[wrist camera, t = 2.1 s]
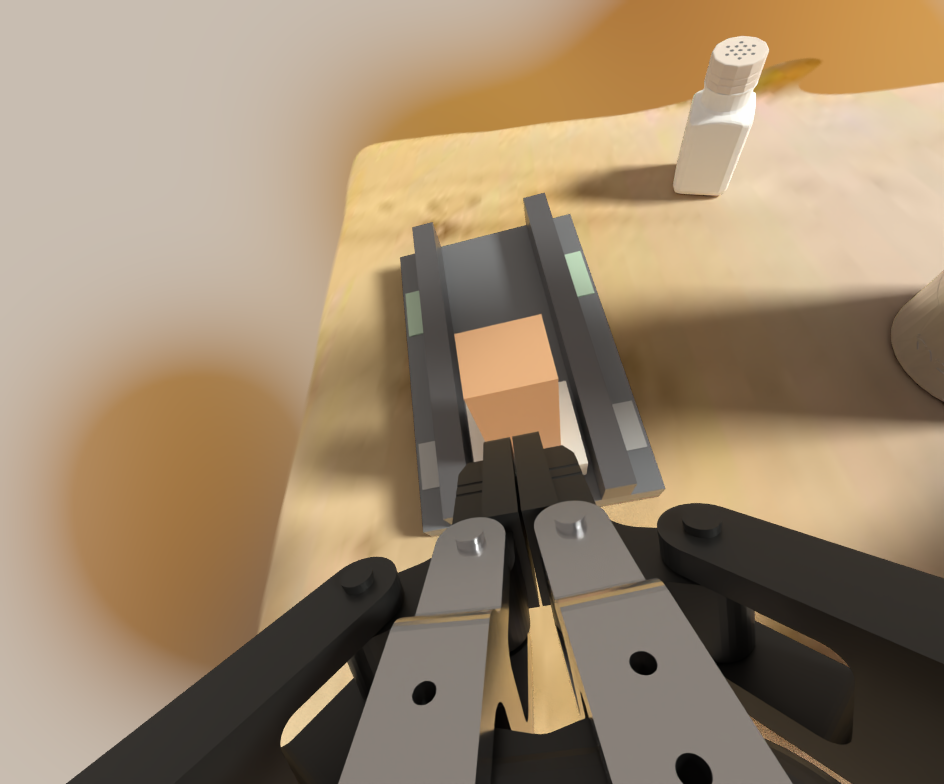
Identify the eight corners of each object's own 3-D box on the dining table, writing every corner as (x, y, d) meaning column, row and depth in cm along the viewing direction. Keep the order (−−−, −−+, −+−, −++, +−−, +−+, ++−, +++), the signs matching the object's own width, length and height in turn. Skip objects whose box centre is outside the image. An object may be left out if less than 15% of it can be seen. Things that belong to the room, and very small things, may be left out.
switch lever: (586, 474, 25) (598, 396, 15) (484, 493, 26) (435, 429, 16) (565, 397, 27) (565, 287, 18) (472, 416, 28) (424, 321, 18)
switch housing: (658, 496, 26) (675, 476, 22) (432, 536, 27) (409, 525, 23) (569, 233, 36) (570, 185, 32) (408, 273, 37) (388, 233, 33)
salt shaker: (676, 162, 37) (708, 33, 29) (728, 164, 36) (778, 29, 27) (670, 196, 35) (702, 70, 27) (724, 199, 34) (775, 68, 26)
